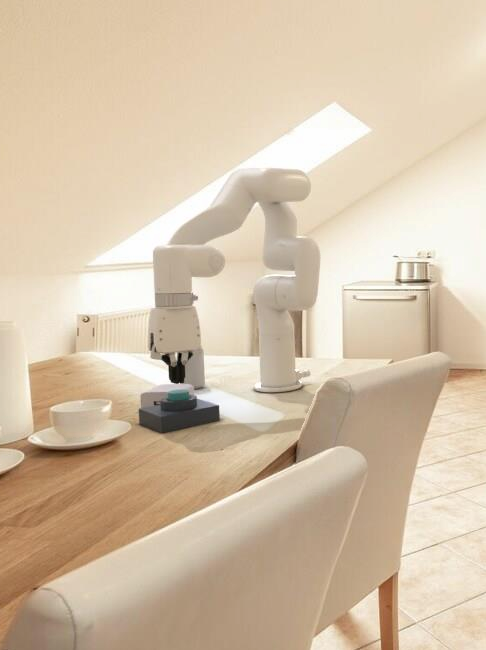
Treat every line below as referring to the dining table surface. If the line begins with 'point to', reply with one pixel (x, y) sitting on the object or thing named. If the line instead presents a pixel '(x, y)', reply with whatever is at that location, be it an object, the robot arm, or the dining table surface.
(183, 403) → the teal push button box
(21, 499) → the dining table surface
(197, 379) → the beverage can
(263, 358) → the robot arm
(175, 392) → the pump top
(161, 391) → the hinged button cover
